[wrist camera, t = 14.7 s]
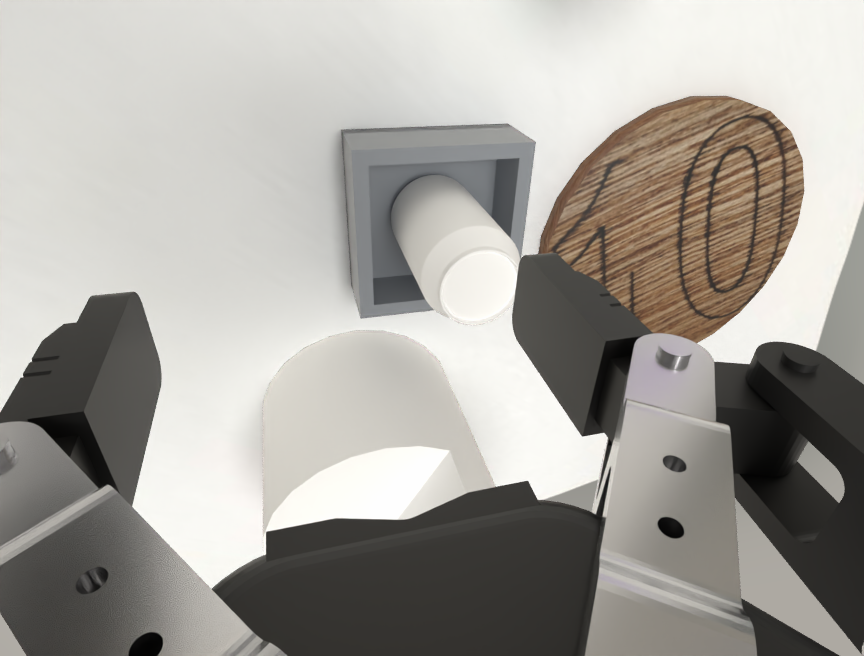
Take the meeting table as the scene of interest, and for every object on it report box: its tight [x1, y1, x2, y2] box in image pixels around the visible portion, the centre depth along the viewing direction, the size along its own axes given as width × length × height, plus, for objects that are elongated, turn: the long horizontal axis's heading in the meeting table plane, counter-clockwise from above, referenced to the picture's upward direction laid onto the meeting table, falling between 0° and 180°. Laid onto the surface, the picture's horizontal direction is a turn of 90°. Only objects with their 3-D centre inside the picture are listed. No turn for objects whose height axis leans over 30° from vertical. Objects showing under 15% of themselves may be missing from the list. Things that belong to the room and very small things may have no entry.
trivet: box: [539, 96, 804, 343], centre depth 49 cm, size 25×25×2 cm
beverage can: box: [391, 175, 520, 325], centre depth 36 cm, size 6×6×12 cm
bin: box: [342, 124, 536, 318], centre depth 39 cm, size 12×12×5 cm
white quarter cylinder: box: [263, 331, 496, 555], centre depth 39 cm, size 17×17×28 cm
